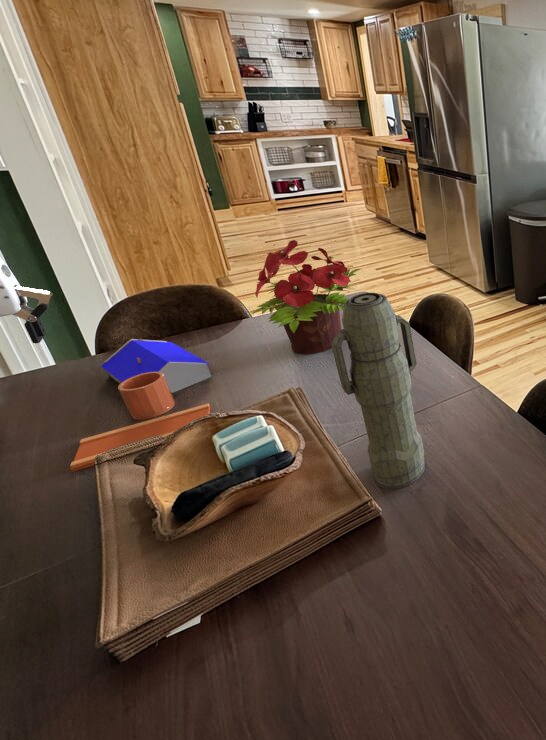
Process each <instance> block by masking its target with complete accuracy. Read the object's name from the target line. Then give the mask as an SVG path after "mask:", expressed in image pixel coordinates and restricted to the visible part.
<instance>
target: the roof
mask: <svg viewBox="0 0 546 740" xmlns="http://www.w3.org/2000/svg"><path fill="white" fill-rule="evenodd" d="M208 365H211V363H209V362H207V361H205V360H204V359H202V358H200V357H198V356H196V355H195V354H193V353H191V352H190V351H188V350H186V349H184V348H182V347H181V346H179V345H177V344H175V343H173V342H172V341H167V340H155V339H143V338H130V339H129V340H128V341H126V342H125V343H124V344H123V345H122V346H121V347H120V348H118V349H117V350H116V351H115V352H114V353H112V354H111V355H110V356H109V357H108V358H107V359H105V360H104V361H103V362H102V364H101V365H100V368H102V370H105V371H106V372H107V374H108V376H109V377H110V378H111V379H113V380H114V381H116V382H117V383H119V385H120V384H121V383H122V382H123V381H125V380H127V379H129V378H131V377H133V376H136V375H139V374H143V373H147V372H161V373H163V374H164V376H165V378H166V381H167V383H168V386H169V388H170V390H171V393H172V394H173V393H176V392H178V391H182V390H183V389H185V388H188V387H191V386H193V385H195V384H198V383H201V382H203V381H205V380H207V379H210V378H212V374H211V372H210V369H209V366H208Z"/></svg>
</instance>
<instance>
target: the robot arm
mask: <svg viewBox="0 0 546 740" xmlns="http://www.w3.org/2000/svg"><path fill="white" fill-rule="evenodd" d="M53 295H54V294H53V292H52V291H48V290H43V289H36V288H30V287H24V286H23V287H22V286H21V284H20V282H19V281H18V279H17V278H16V276H15V275H14V273H13V272H12V270H11V269H10V267H9V266H8V265H7V263H6V262H5V261H4V260H3V258H2V257H1V256H0V318H1V317H7V316H14V317H17V318H19V319H22V320H24V321H25V323H24V325H23V326H24V328H25V330H26V332H27V334H28V336H29V338H30V341H31V342H32V344H39V343H41V342H42V340H43V339H44V338H45V336H46V335H47V331H46V328H45V326H44V324H43V321H42V320H41V318H40V317H41V316H42V315H43V314H44V313H45V312H46V311H47V309H49V307H50V304H51V301H52V299H53ZM28 298H31V299H36V300H37V301H38V302H37V306H36V307H35V308H34V307H31V306H29V305H27V304H28Z"/></svg>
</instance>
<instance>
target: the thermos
mask: <svg viewBox="0 0 546 740" xmlns="http://www.w3.org/2000/svg"><path fill="white" fill-rule="evenodd" d="M341 322H342V323H341V324H342V327H343V329H342V328H341V330H340V333H337V334H336V335H335V337H334V339H333V341H332V343H331V345H332V348H331V350H332V353H333V357H334V361H335V365H336V369H337V374H338V378H339V381H340V384H341V388H342V390H343V392H344V393H345V394H346V395H347V396H349V395H352V394H354V397H355V400H356V402H357V403H358V404H359V406H360V408H361V413H362V417H363V422H364V426H365V430H366V434H367V435H366V436H367V440H368V447H367V455H368V459H369V462H370V463H369V464H370V467H371V470H372V473H373V474H374V480H375V483H376V484H377V485H378V486H379V487H380V488H383V489H385V490H397V489H402V488H405V487H407V486H410V485H412V484H414V483H415V482H416V481H418V480H419V479H420V477H422V475H423V474H424V472H425V469H426V460H425V449H424V443H423V440H422V439H423V438H422V435H421V434H420V432H419V431H418V428H417V423H416V417H415V412H414V407H413V401H412V396H411V390H412V385H413V384H412V377H411V375H412V372H413V371H414V369H415V368H416V366H417V363H418V362H417V360H416V353H415V347H414V342H413V341H414V340H413V335H412V329H411V324H410V322H409V321H408V320H407V319H405V318H404V317H402V316H401V315H400V314H397V315H396V313H395V310H394V308H393V306H392V305H391V303H390V301H389V300H388V298H387V296H386V295H384V294H382V293H378V292H363V293H359V294H356V295H354V296H351V297H350V298H348V299H347V301H346V302H345V304H344V308H343V311H342V316H341ZM399 325H400V330H401V335H402V341H403V348H404V352H403V351H402V345H401V343H400V341H399V339H400V335H399V328H398V326H399ZM344 341H346V344H347V348H348V350H349V351H350V354H349V358H350V365H349V374H348V369H347V365H346V361H345V356H344V353H343V349H342V344H343V342H344ZM404 353H405V354H404ZM349 376H350V378H349Z"/></svg>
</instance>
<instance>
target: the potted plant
mask: <svg viewBox="0 0 546 740" xmlns="http://www.w3.org/2000/svg"><path fill="white" fill-rule="evenodd" d="M298 244H299V243H298V241H297V240H295V239H292V240H290V241H288V243H287V246H285V247H283V248H281V249H277V250H276V251H275V252H269V253H268V254H267V256H266V258H265V262H264V265H263V268H262V269H261V270H260V271H259V272H258V278H257V280H258V281H256V289H255V293H254V296H255V297H256V298H259V293H260V291H261V289H262V288H263V287H264V285H266V284H271V285H269V286H266V287H265V289H268V294H271V293H273V296H272V298H270V299H269V300H267V301H264V303H262V304H258V305H257V306H256V307H257V309H255V310H254V311H253V312H252V313H251V314H250V315H251V316H253V315H254V314H256V313H259V312H261V315H264V314H265V313H266V312H267V311H269V313H270V314H271V315H270V316H269V317H268V322H269V323H270V322H272V325H273V324H279V323H280V324H279V325H278V327H277V328H280V327H283V329H284V331H285V332H286V333H285V334H286V335H287V338H288V340H289V342H290V347H291V350H292V352H294V353H296V354H299V355H312V354H318V353H322V352H326V351H328V350H332V345H331V343H332V341H333V339H334V337H335V335H336V334H337V333H340V330H342V323H341V322H342V321H341V314H340V312H341V311H342V312H343V308H344V304H345V302H346V301H347V300H348V299H349V297H345V296H346V293H341V294H340V292H348V293H351V291H350V290H351V289H352V290H353V291H354V290H356V287H357V285H354V284H353V285H352V284H349V283H351V282H352V281H351V279H350V277H353V276H357V274H356V272H359V271H360V270H362V269H363V268H355V269H353V270H351V268H348V267H346V265H345V263H344V262H343V261H342V260H336V261H333V259H334V257H333V256H332V255H329V253H328V252H327V250H326V249H324V248H321V247H318V248H317V250H318V251H319V252H320V253H321V254H322V255H323V257H325V258H321V257H319V256H316V255H312V256H310V258H311V259H312V260H314V261H325V262H326V265H323V266H319V267H318V266H317V267H316V268H315V267H314V268H313V266H312V265H311V264H310V263H304V262H305V261H306V260H307V258H308V256H309V253H308V252H307V251H305V250H300V251H297V252H295V253H294V254H291V255H290V253H291V252H292V251H293V250H294V249H295V248H297V247H298ZM289 255H290V256H289ZM301 264H302V265H301ZM281 265H285V266H292V267H293V268H294V269H295V270H296V272H292V273H290V274H289V275H288V277H287V279H280V280H279V281H277V282H271V279H272V278H274V277H275V276H276V275H277V273H278V272H279V270H280V269H281V267H280V266H281ZM299 265H301V269H300V270H299V269H298V268H297V267H296V266H299ZM266 273H267V274H266ZM352 287H353V288H352ZM354 287H355V288H354ZM269 288H271V289H269ZM315 288H317V289H316V293H314V292H313V291H314V289H315ZM319 288H322V289H323V290H324V291H326V292H325V293H318V292H319ZM346 289H349V290H346ZM331 292H332V293H331ZM274 310H276V311H275V312H273V311H274ZM340 310H341V311H340Z"/></svg>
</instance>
